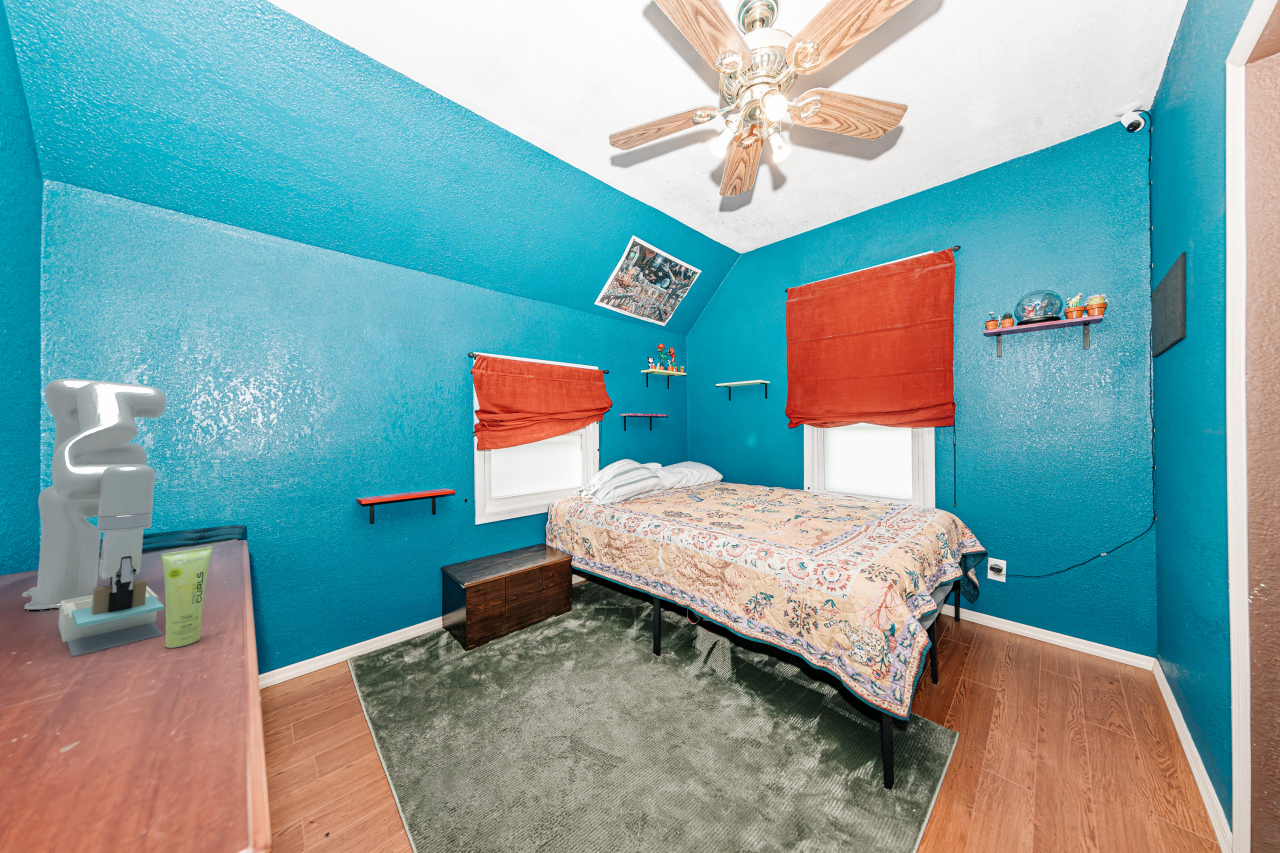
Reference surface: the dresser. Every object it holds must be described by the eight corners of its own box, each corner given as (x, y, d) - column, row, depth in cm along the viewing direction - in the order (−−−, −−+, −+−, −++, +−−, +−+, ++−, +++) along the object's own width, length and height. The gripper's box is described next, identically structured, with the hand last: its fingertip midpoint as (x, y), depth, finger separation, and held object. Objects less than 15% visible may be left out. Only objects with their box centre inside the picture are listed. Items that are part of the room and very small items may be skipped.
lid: (71, 614, 89) (74, 586, 89) (153, 598, 99) (154, 573, 99) (77, 627, 82) (79, 597, 83) (163, 609, 92) (165, 582, 92)
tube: (182, 649, 86) (189, 552, 87) (154, 650, 85) (161, 553, 86) (207, 637, 91) (212, 546, 92) (180, 638, 90) (186, 546, 92)
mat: (67, 642, 88) (67, 641, 88) (153, 623, 98) (153, 622, 98) (71, 657, 82) (71, 655, 82) (163, 634, 92) (163, 633, 92)
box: (58, 626, 96) (60, 600, 96) (145, 608, 107) (146, 585, 107) (62, 642, 88) (65, 614, 89) (156, 621, 99) (157, 596, 99)
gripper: (92, 521, 93) (86, 605, 92) (102, 529, 84) (94, 622, 83) (144, 516, 99) (138, 595, 98) (158, 523, 90) (152, 610, 89)
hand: (118, 607), depth 91 cm, fingers closed on lid, 3 cm apart
